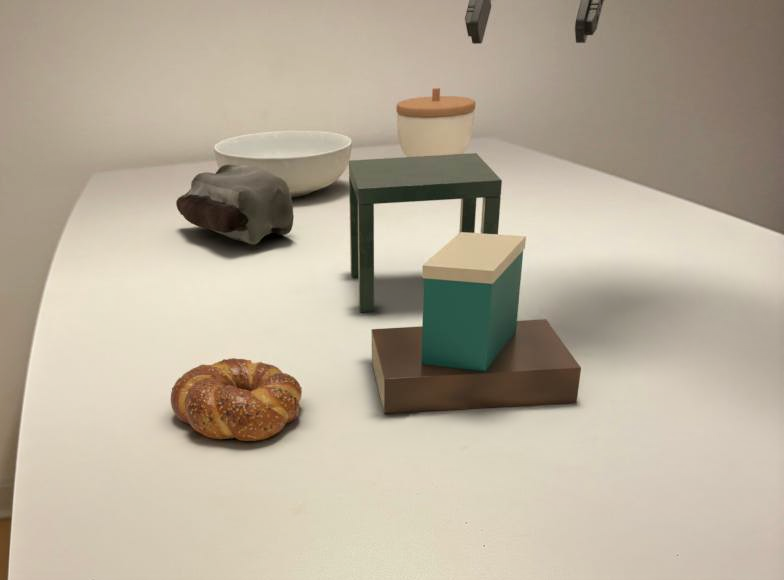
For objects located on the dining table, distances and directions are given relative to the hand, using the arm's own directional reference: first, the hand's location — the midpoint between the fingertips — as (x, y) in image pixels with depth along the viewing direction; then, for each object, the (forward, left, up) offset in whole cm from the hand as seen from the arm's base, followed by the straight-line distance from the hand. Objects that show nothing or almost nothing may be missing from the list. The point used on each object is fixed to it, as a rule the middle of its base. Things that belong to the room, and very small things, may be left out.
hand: (526, 36), depth 76 cm
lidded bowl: (-5, -83, -25) cm, 86 cm away
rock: (+27, -43, -25) cm, 56 cm away
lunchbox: (+5, +10, -22) cm, 24 cm away
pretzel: (+25, +15, -25) cm, 38 cm away
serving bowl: (+20, -69, -25) cm, 76 cm away
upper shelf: (+6, -17, -25) cm, 30 cm away
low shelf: (+5, +10, -25) cm, 27 cm away
